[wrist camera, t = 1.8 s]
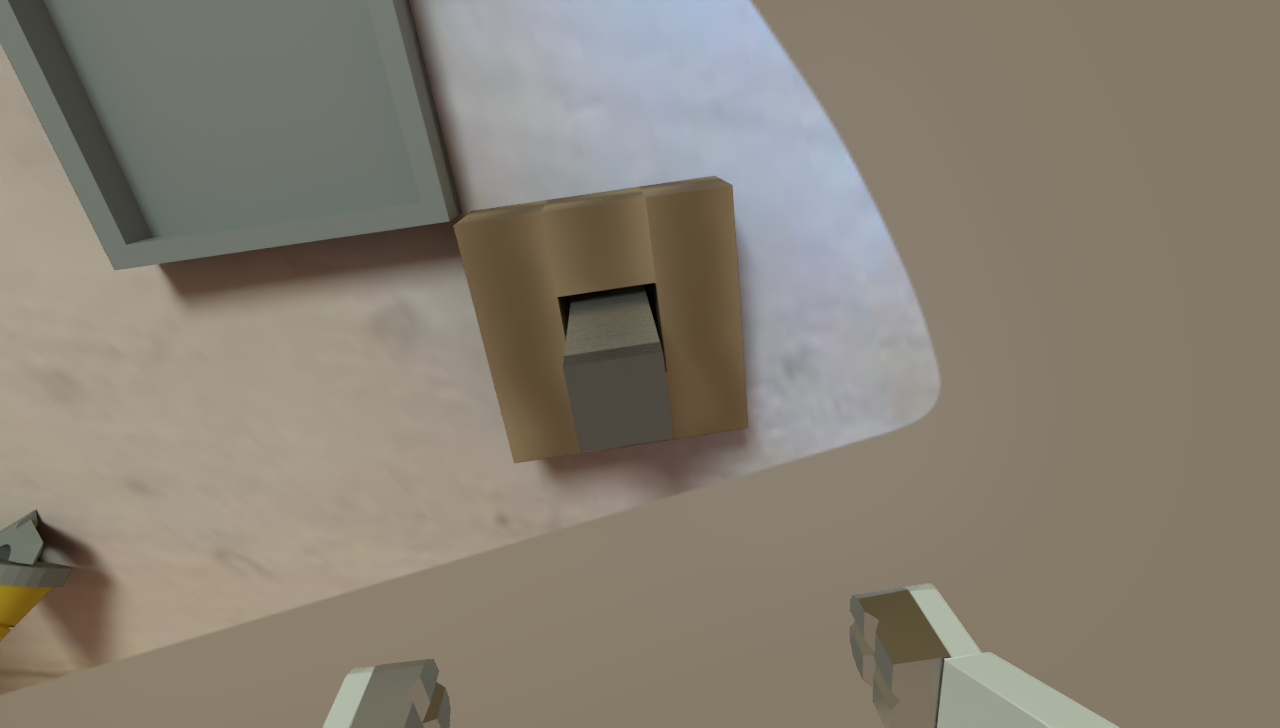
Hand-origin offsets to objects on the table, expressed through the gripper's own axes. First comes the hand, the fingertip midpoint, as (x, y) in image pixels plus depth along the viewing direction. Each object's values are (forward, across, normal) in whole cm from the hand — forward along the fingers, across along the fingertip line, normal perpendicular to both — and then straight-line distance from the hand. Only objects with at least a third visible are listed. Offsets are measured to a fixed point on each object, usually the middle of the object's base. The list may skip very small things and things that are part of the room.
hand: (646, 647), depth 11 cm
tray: (+21, +14, -14) cm, 29 cm away
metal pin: (+21, 0, 0) cm, 21 cm away
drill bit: (+21, +35, +10) cm, 42 cm away
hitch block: (+21, 0, 0) cm, 21 cm away
